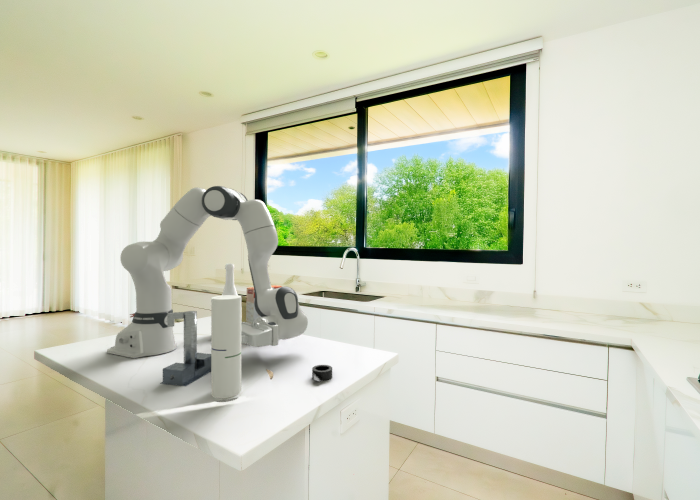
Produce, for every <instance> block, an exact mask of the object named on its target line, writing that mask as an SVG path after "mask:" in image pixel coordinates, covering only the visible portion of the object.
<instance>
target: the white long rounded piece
mask: <svg viewBox="0 0 700 500" xmlns="http://www.w3.org/2000/svg"><path fill="white" fill-rule="evenodd" d="M224 267H225V268H224V269H225V282H224V287H223V290H222V293H221V296H222V295H238V296H239V294H238V292H237V288H236V285H235V263H225V266H224ZM242 311H243V309H242V305H241V322H243V321H242V318H243V317H242V315H243V314H242Z"/></svg>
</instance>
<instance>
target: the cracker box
mask: <svg viewBox="0 0 700 500" xmlns="http://www.w3.org/2000/svg"><path fill="white" fill-rule="evenodd" d="M271 287H272V289H276V288H280V287H283V286H282V285H276V284H275V285H272V284H271ZM254 301H255V291H254V286H253V287H251V286H250V287H249V286H248V287H246V305H245V308H246V311H245V313H246V316H245V320H246V321H245V322H248V323H251V324H252V323H253V322H254V321H255V320H256V318H258V317H261V316H260V315H259V314H258V313H257V312H256V310H255V306H254Z"/></svg>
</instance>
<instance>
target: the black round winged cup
mask: <svg viewBox="0 0 700 500" xmlns="http://www.w3.org/2000/svg"><path fill="white" fill-rule="evenodd" d="M311 373H312V374H311V378H312V380H313V381H316V382H318V383H319V382H326V381H327V382H328V381H330V380H332V379H333V367H332V366H331V365H328V364H317V365H315V366H313V367H312V368H311Z"/></svg>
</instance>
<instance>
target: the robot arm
mask: <svg viewBox="0 0 700 500" xmlns="http://www.w3.org/2000/svg"><path fill="white" fill-rule="evenodd" d="M209 217H212V218H213V217H214V218H217V219H221V220H225V221H229V220H230V221H231V220H232V221H237V222H239V224H240V226H241V229H242V233H243V236H244V240H245V242H246V243H245V244H246V248H247V249H246V250H247V254H248V255H247V257H248V259H247V260H248V266H249V272H250V277H251V280H252V285H253V287H254V291H255V301H254V306H255V310H256V312H257V313H258V314H259V315H260V316H261V317H258V318H256V320H255V321H254V322H253V323H252V324H251V323H248V322H246V321H242V322H241V344H246V345H248V346H250V347H252V348H262V347H268V346H272V347H276V346H278V345H279V341H280V340H282V341H285V340H290V339H293V338H296V337H300V336H301V335H302V334H305V332H306V330H307V328H308V315H307V314H306V313H305V312H303V310H302V308H301V306H300V304H299V297H298V295H297V292H296V290H294V289H293V288H291V287H290V286H282V287H280V288H276V289H272V287H271V286H272V283H271V279H270V274H269V273H270V272H269V270H268V264H269V261H270V258H271V257H272V255H273V254H274V253H275V251H276V249H277V248H278V244H279V236H278V231H277V229H276V225H275V223H274V220H273V217H272V215H271V213H270V211H269V209H268V206H266V204H265V202H264V201H262V200H261V199H249V200H248V198H247V197H246V196H245V195H244V194H243V193H242V192H239V191H237V190H235V189H234V188H231V187H230V188H228V187H225V186H222V185H214V186H211V187H209V188H207V189H205V188H203V187H202V188H201V187H199V186H198V187H192V188H190V190H189V191H187V192H186V193H185V194H183V196H182V197H180V199H178V200H177V202H176V203H175V204H174V205H173V206H172V208H171V209H170V210H169V211H168V213H167V214H165V216H164V218H163V219H162V220H161V221H160V223H159V228H160V231H159V234H158V235H157V237H156V238H155V240H153V241H137V242H133V243H131V244H128V245H126V246H125V247H124V248H123V249H122V251H121V253H120V263H121V266H122V267H123V269H125V270H126V271H127V272H128V273H129V274H130V276H131V279H132V281H133V284H134V288H135V300H136V301H135V302H136V308H135V309H136V311H135V313H130V314H129V318H132V321H131V323H129V324H128V325H127V326H126V327H124V328H123V329H122V330H120V331H119V332H118V333H117V334H116V336H115V339H114V340H115V343H114V345H113V346H111V347H108V349H107V350H106V353H107V354H112V355H117V356H121V357H125V358H126V357H127V358H132V359H135V358H136V359H137V358H142V357H147V356H149V357H150V356H157V355H162V354H166V353H168V352H172V351H174V350H175V349H177V348H178V347H177V343H176V340H175V336H174V335H175V334H174V326H173V327H167V314H168V313H174V310H173V307H172V306H173V304H172V303H173V302H172V300H173V299H172V295H173V294H172V293H173V292H172V288H171V287H172V286H170V285H169V284H168V282H167V281H166V277H165V273H164V272H168V271H170V270H173V269H175V268H177V267H178V266H180V265H181V263H182V261H183V259H184V251H185V249H186V247H187V245H188V243H189V242H190V241H191V239H192V238H193V237H194V235H195V234H196V233H197V231H198V230H199V229H200V227H202V225H203V224H204V223H205V221H206V220H208V218H209Z"/></svg>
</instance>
